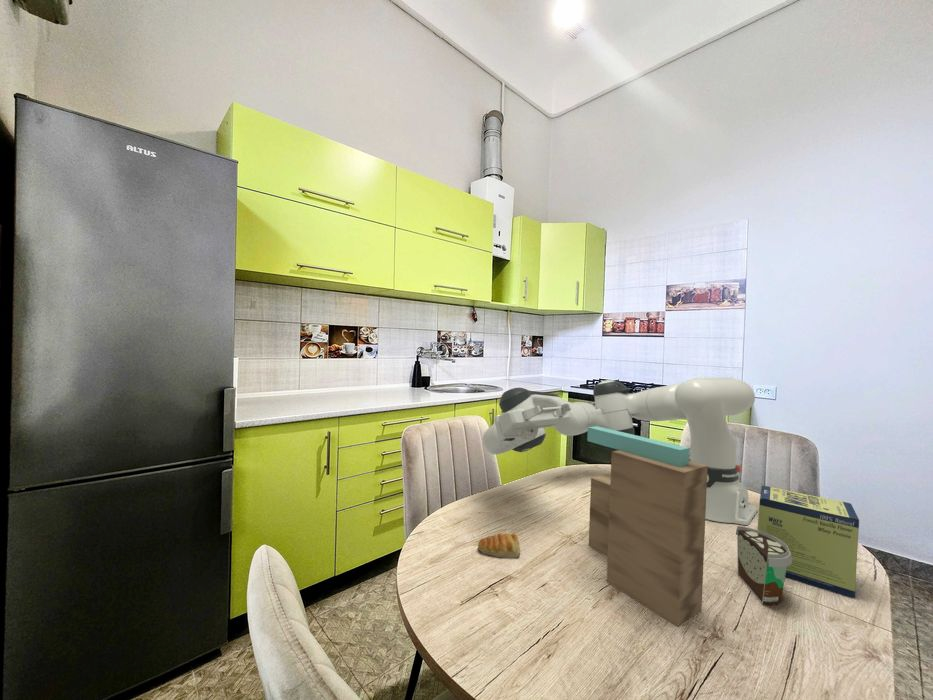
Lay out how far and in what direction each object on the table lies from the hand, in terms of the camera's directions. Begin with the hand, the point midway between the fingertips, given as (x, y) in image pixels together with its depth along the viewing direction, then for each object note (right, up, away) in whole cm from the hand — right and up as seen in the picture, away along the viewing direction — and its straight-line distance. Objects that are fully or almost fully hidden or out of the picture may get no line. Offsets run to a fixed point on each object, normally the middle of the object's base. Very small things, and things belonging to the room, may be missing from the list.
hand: (555, 407), depth 94 cm
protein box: (+50, -34, -12) cm, 61 cm away
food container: (+37, -33, -19) cm, 53 cm away
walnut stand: (+14, -32, -14) cm, 38 cm away
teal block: (+11, -6, -18) cm, 22 cm away
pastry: (-14, -32, -8) cm, 35 cm away
